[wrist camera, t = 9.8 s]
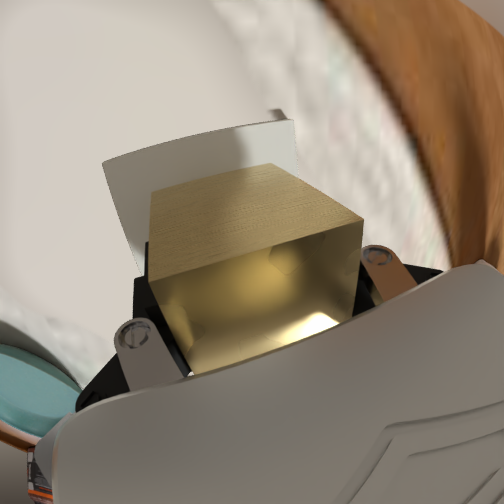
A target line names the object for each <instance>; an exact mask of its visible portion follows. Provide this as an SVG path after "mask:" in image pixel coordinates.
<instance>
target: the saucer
mask: <svg viewBox="0 0 504 504" xmlns="http://www.w3.org/2000/svg"><path fill="white" fill-rule="evenodd" d="M81 392H82V390H81V389H80V388H79V387H78V386H77V385H76V384H75V383H74V382H73V381H72V380H71V379H70V378H69V377H68V376H67V375H66V374H65V373H63V372H62V371H61V370H59V369H58V368H57V367H55V366H54V365H52V364H51V363H49V362H47V361H46V360H44V359H42V358H40V357H38V356H36V355H34V354H32V353H30V352H27V351H25V350H22V349H20V348H17V347H13V346H9V345H4V344H0V420H2V421H3V422H5V423H7V424H8V425H10V426H12V427H14V428H16V429H18V430H20V431H23V432H25V433H28V434H30V435H34V436H36V437H40V438H43V437H44V436H45V435H46V434H47V433H48V432H49V431H50V430H51V429H52V428H53V427H54V426H55V425H56V424H57V423H58V422H59V421H60V420H61V419H62V418H63V417H64V416H65V415H66V414H67V413H69V412H71V413H72V414H73V413H74V412H75V403H76V401H77V398H78V396H79V395H80V393H81Z"/></svg>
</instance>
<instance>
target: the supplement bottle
mask: <svg viewBox="0 0 504 504" xmlns="http://www.w3.org/2000/svg"><path fill="white" fill-rule="evenodd" d="M34 451H35V448H34V447H31V448H28V453H27V474H28V494H29V497H30V498H31V499H32V500H33V501H34V502H35V504H54V503H53V493H52V488H51V486H50V485H49V483H48V481H47V480H46V478H45V477H44V475H43V473H42V471H41V470H40V468H39V466H38V464H37V463H36V460H35V454H34Z"/></svg>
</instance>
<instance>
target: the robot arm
mask: <svg viewBox="0 0 504 504" xmlns="http://www.w3.org/2000/svg"><path fill="white" fill-rule="evenodd" d="M148 251H149V241H148V242H145V260H144V276H141V277H138V278H135V279H134V292H133V293H134V294H133V319H132V320H129V321H127V322H126V323H124V324H123V325H122V326H121V327H120V328H119V329H118V330H117V332H116V333H115V337H114V345H115V348H116V352H117V353H116V354H115V355H114V356H113V357H112V359H111V360H110V361H109V362H108V363H107V364H106V365H105V366H104V367H103V368H102V370H101V371H100V372H99V373H98V374H97V375H96V376H95V377H94V378H93V380H92V381H91V382H90V383H89V384H88V385H87V386H86V387H85V389H84V390H83V391H82V392H81V393H80V395H79V396H78V398H77V401H76V403H75V412H74V413H73V414H72V413H71V412H69V413H67V414H66V415H65V416H64V417H63V418H62V419H61V420H60V421H59V422H58V423H57V424H56V425H55V426H54V427H53V428H52V429H51V430H50V431H49V432H48V433H47V434H46V435H45V436H44V437H43V438H42V439H41V440H39V442H38V443H37V445H36V447H35V451H34V454H35V460H36V463H37V464H38V466H39V468H40V470H41V471H42V473H43V475H44V477H45V478H46V480H47V481H48V483H49V485H50V486H51V488H52V493H53V503H54V504H504V275H502V274H501V273H499V272H498V271H496V270H495V269H493V268H492V267H490V266H488V265H484V264H469V265H463V266H459V267H455V268H453V269H450V270H448V271H445V272H443V271H441V270H437V269H431V268H425V267H419V266H413V265H408V264H402V262H401V261H400V260H399V258H398V257H397V256H396V254H395V253H394V252H393V251H392V250H390V249H389V248H387V247H384V246H381V245H369V246H365V247H363V248H361V256H360V265H359V273H358V280H357V287H356V294H355V300H354V307H353V312H352V318H350V319H348V320H346V321H343V322H341V323H339V324H336V325H334V326H332V327H329V328H327V329H325V330H322V331H320V332H318V333H315V334H313V335H310V336H308V337H305V338H303V339H300V340H298V341H295V342H292V343H290V344H287V345H284V346H282V347H279V348H276V349H274V350H271V351H268V352H265V353H262V354H260V355H257V356H254V357H251V358H248V359H245V360H242V361H239V362H236V363H233V364H230V365H226V366H223V367H220V368H217V369H213V370H210V371H206V372H203V373H199V374H196V375H192V376H189V377H187V376H188V374H189V373H190V372H192V370H191V368H190V366H189V364H188V362H187V360H186V359H185V357H184V355H183V353H182V351H181V349H180V347H179V345H178V343H177V342H176V340H175V338H174V336H173V334H172V332H171V330H170V328H169V326H168V324H167V322H166V320H165V317H164V315H163V313H162V311H161V309H160V307H159V305H158V303H157V300H156V298H155V296H154V294H153V291H152V289H151V287H150V285H149V282H148Z"/></svg>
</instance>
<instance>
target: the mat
mask: <svg viewBox="0 0 504 504" xmlns="http://www.w3.org/2000/svg"><path fill="white" fill-rule="evenodd" d="M267 163H272V164H274V165H276V166H278V167H280V168H281V169H283V170H285V171H287V172H288V173H290V174H292V175H294V176H295V177H297V178H298V164H297V151H296V140H295V129H294V120H292V119H283V120H275V121H268V122H261V123H254V124H248V125H242V126H236V127H231V128H225V129H220V130H215V131H210V132H206V133H201V134H197V135H192V136H188V137H184V138H180V139H176V140H172V141H168V142H164V143H161V144H157V145H154V146H150V147H147V148H143V149H140V150H137V151H134V152H131V153H127V154H124V155H121V156H118V157H115V158H112V159H110V160H107V161H104V162H103V163H102V166H103V169H104V173H105V176H106V179H107V183H108V186H109V189H110V192H111V195H112V198H113V201H114V204H115V207H116V210H117V213H118V216H119V219H120V222H121V224H122V227H123V230H124V233H125V235H126V238H127V241H128V243H129V246H130V248H131V251H132V253H133V256H134V258H135V260H136V263H137V265H138V268H139V270H140V273H141V275H142V276H144V260H145V242H148V241H149V220H150V203H151V192H153V191H157V190H160V189H163V188H167V187H170V186H174V185H178V184H181V183H185V182H189V181H192V180H196V179H200V178H204V177H208V176H212V175H216V174H221V173H225V172H229V171H234V170H238V169H243V168H247V167H252V166H257V165H262V164H267Z"/></svg>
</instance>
